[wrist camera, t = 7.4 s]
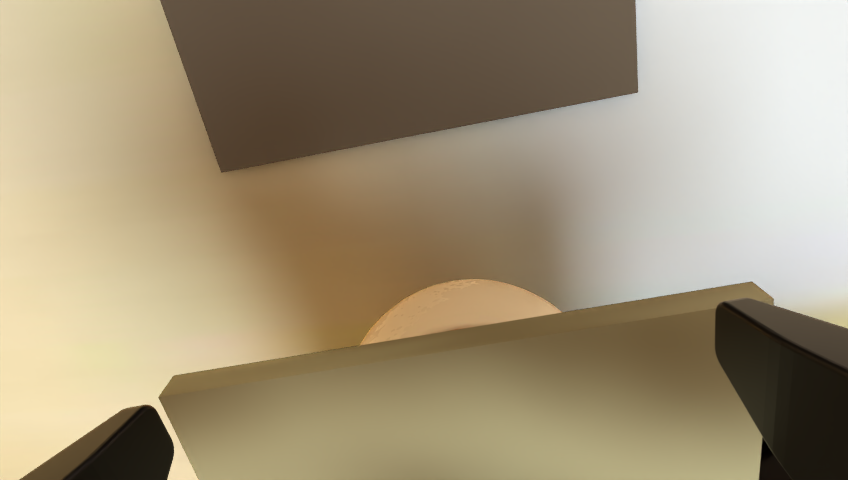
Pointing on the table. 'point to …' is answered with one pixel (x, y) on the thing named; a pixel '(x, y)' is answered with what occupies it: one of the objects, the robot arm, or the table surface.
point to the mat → (390, 67)
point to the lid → (486, 403)
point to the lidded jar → (457, 309)
